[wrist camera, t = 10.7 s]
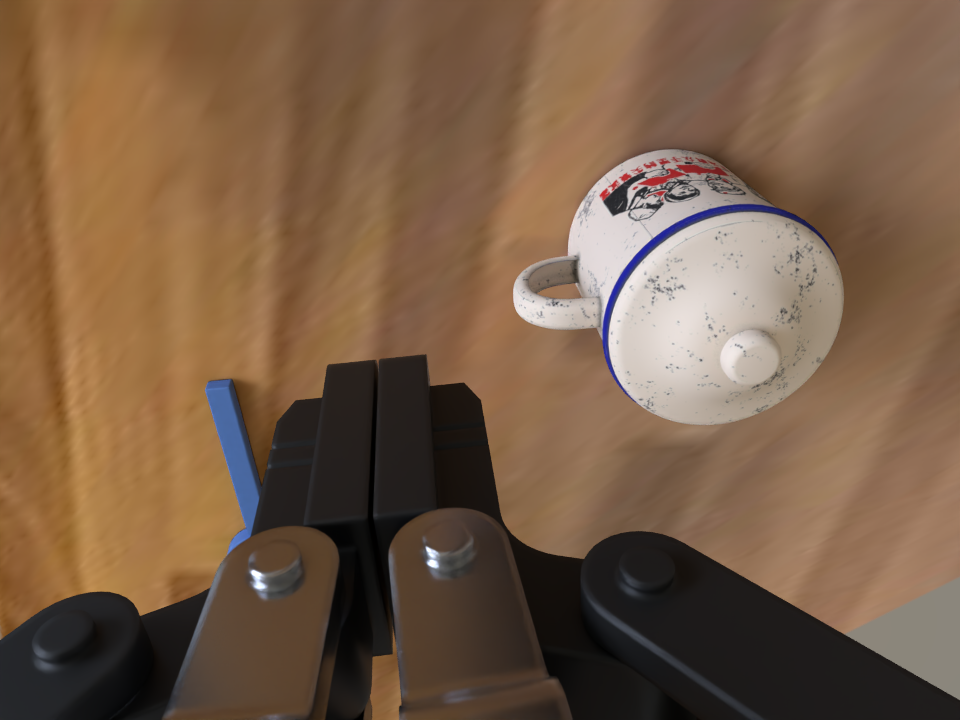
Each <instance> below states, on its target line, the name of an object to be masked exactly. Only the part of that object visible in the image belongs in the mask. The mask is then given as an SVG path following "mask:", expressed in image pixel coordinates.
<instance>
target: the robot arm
mask: <svg viewBox="0 0 960 720" xmlns="http://www.w3.org/2000/svg"><path fill="white" fill-rule="evenodd" d="M267 468H268V469H266V471H265V476H264V480H263V484H262V489H261V493H260V497H259V502H258V506H257V510H256V515H255V519H254V523H253V527H252V532H251V536H250V538H248V539H246V540H245V541H243V542H242V543H240V544H239V545H238V546H236V547H235V548H234V549H233V550H232V551H231V552H230V553H229V554H228V555H227V556H226V557H225V558H224V560H223V561H222V563H221V564H220V566H219V568H218V570H217V572H216V575H215V577H214V580H213V583H212V585H211V587H210V588H209V589H207V590H205V591H203V592H201V593H200V594H198V595H195V596H193V597H191V598H188V599H186V600H183V601H180V602H178V603H175V604H172V605H169V606H167V607H164V608H161V609H158V610H156V611H153V612H150V613H148V614H145V615H142V616H140V615H139V613H138V610H137V608H136V607H135V605H134V604H133V603H132V602H131V601H130V600H129V599H127V598H126V597H124V596H122V595H119V594H115V593H111V592H90V593H85V594H80V595H76V596H73V597H69V598H66V599H64V600H61V601H59V602H57V603H54V604H53V605H51V606H49V607H47V608H45V609H43V610H42V611H40V612H39V613H37V614H36V615H34V616H33V617H31V618H30V619H28V620H27V621H26V622H24V623H23V624H22V625H20V626H19V627H18V628H16V629H15V630H13V631H12V632H11V633H9V634H8V635H7V636H5V637H4V638H3V639H1V640H0V720H372V705H371V700H370V694H371V686H372V657H373V656H381V655H390V654H393V630H394V635H395V641H396V646H397V657H398V668H399V678H400V689H401V702H402V706H399V720H960V700H958V699H957V698H955V697H953V696H951V695H950V694H947V693H946V692H944V691H943V690H941V689H939V688H937V687H935V686H934V685H932V684H930V683H928V682H927V681H925V680H923V679H921V678H920V677H918V676H916V675H914V674H913V673H911V672H909V671H907V670H906V669H904V668H902V667H900V666H898V665H897V664H895V663H893V662H892V661H890V660H888V659H886V658H885V657H883V656H881V655H879V654H878V653H876V652H874V651H872V650H871V649H869V648H867V647H865V646H864V645H862V644H860V643H858V642H857V641H855V640H853V639H851V638H850V637H848V636H846V635H844V634H843V633H841V632H839V631H837V630H835V629H834V628H832V627H830V626H828V625H827V624H825V623H823V622H821V621H820V620H818V619H816V618H814V617H813V616H811V615H809V614H807V613H806V612H804V611H802V610H800V609H799V608H797V607H795V606H793V605H792V604H790V603H788V602H786V601H785V600H783V599H781V598H779V597H778V596H776V595H774V594H772V593H771V592H769V591H767V590H765V589H764V588H762V587H760V586H758V585H756V584H755V583H753V582H751V581H749V580H748V579H746V578H744V577H742V576H741V575H739V574H737V573H735V572H734V571H732V570H730V569H728V568H727V567H725V566H723V565H721V564H720V563H718V562H716V561H714V560H713V559H711V558H709V557H707V556H706V555H704V554H702V553H700V552H699V551H697V550H695V549H693V548H692V547H690V546H688V545H686V544H685V543H683V542H681V541H679V540H677V539H674V538H672V537H669V536H666V535H663V534H658V533H654V532H644V531H635V532H625V533H620V534H617V535H613V536H610V537H608V538H606V539H604V540H602V541H601V542H599V543H598V544H596V545H595V546H594V547H593V548H592V549H591V550H590V551H589V552H588V554H587V556H586V557H585V559H579V558H572V557H565V556H558V555H553V554H548V553H544V552H541V551H538V550H536V549H533V548H531V547H529V546H527V545H525V544H524V543H522V542H521V541H519V540H518V539H517V538H516V537H515V536H513V535H512V534H511V533H510V531H509V530H508V529H507V528H506V526H505V524H504V522H503V520H502V517H501V513H500V508H499V502H498V496H497V491H496V485H495V479H494V473H493V467H492V462H491V456H490V450H489V445H488V439H487V433H486V427H485V421H484V416H483V410H482V404H481V400H480V399H479V398H478V397H477V396H476V395H475V394H474V393H473V392H472V391H471V390H470V388H469V387H468V386H467V385H466V384H465V383H455V384H446V385H436V386H430V379H429V370H428V362H427V355H426V354H425V355H415V356H405V357H396V358H386V359H380V360H379V369H378V364H377V361H376V360H368V361H359V362H349V363H339V364H329V365H328V366H327V370H326V377H325V383H324V390H323V396H322V398H315V399H305V400H296V401H295V402H294V403H293V404H292V405H291V406H290V408H289V409H288V410H287V411H286V412H285V413H284V415H283V416H282V417H281V418H280V419H279V420H278V421H277V424H276V428H275V433H274V437H273V441H272V450H270V454H269V459H268V463H267Z"/></svg>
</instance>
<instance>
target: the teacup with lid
mask: <svg viewBox="0 0 960 720" xmlns="http://www.w3.org/2000/svg"><path fill="white" fill-rule="evenodd" d="M571 283H575V284H576V286H577V288H578V290H579V292H580V294H581V296H582V298H577V299H555V298H549V297H544V296H541V295H538V294H537V293H538V292H540V291H542V290H544V289H546V288H549V287H552V286H557V285H563V284H571ZM513 296H514V306H515V309H516V311H517V313H518V314H519V315H520V316H521V317H522V318H523V319H524V320H526V321H527V322H529V323H531V324H534V325H537V326H540V327H544V328H549V329H559V330H572V329H585V328H595V327H596V328H597V330H598V332H599V334H600V336H601V338H602V341H603V349H604V354H605V358H606V362H607V364H608V367H609V370H610V372H611V374H612V376H613V377H614V379H615V381H616V382H617V384H618V385H619V387H620V388H621V389H622V390H623V391H624V392H625V394H626V395H628V396H629V397H630V398H631V399H632V400H633V401H634V402H636V403H637V404H639V405H640V406H641V407H643V408H645V409H646V410H648V411H650V412H651V413H653V414H655V415H658V416H660V417H662V418H665V419H668V420H671V421H675V422H680V423H685V424H693V425H716V424H724V423H729V422H734V421H738V420H741V419H745V418H748V417H751V416H753V415H756V414H758V413H760V412H763V411H765V410H767V409H769V408H771V407H772V406H774V405H776V404H778V403H779V402H781V401H782V400H784V399H785V398H787V397H788V396H789V395H791V394H792V393H793V392H795V391H796V390H797V389H798V388H799V387H800V386H802V385H803V384H804V383H805V382H806V381H807V380H808V379H809V378H810V377H811V376H812V374H813V373H814V372H815V371H816V370H817V368H818V367H819V366H820V364H821V363H822V362H823V360H824V359H825V357H826V355H827V354H828V352H829V350H830V349H831V346H832V344H833V342H834V340H835V338H836V335H837V333H838V330H839V326H840V323H841V318H842V312H843V303H844V288H843V281H842V276H841V272H840V269H839V266H838V262H837V260H836V257H835V255H834V253H833V251H832V249H831V248H830V246H829V244H828V243H827V241H826V240H825V239H824V238H823V236H822V235H821V234H820V233H819V232H818V231H817V230H816V229H815V228H814V227H813V226H811V225H810V224H809V223H807V222H806V221H805V220H803V219H801V218H800V217H798V216H796V215H794V214H792V213H790V212H787V211H785V210H782V209H779V208H777V207H775V206H774V205H773V204H772V203H770V202H769V201H768V200H766V199H765V198H764V197H763V196H761V195H760V194H759V193H758V192H756V191H755V190H754V189H752V188H751V187H750V186H749V185H747V184H746V183H745V182H743V181H742V180H741V179H740V178H738V177H737V176H736V175H735V174H733V173H732V172H731V171H729V170H728V169H727V168H726V167H724V166H723V165H722V164H720V163H719V162H717V161H715V160H714V159H712V158H710V157H708V156H705V155H703V154H700V153H696V152H693V151H687V150H678V149H666V150H658V151H653V152H648V153H645V154H642V155H639V156H636V157H634V158H631V159H629V160H627V161H625V162H623V163H622V164H620V165H618V166H617V167H615V168H614V169H612V170H611V171H610V172H608V173H607V174H606V175H605V176H603V177H602V178H601V179H600V180H599V181H598V182H597V183H596V184H595V185H594V186H593V188H592V189H591V190H590V191H589V193H588V194H587V195H586V197H585V198H584V200H583V201H582V203H581V205H580V206H579V208H578V210H577V212H576V215H575V217H574V220H573V222H572V226H571V230H570V235H569V242H568V256H564V257H557V258H551V259H547V260H543V261H540V262H537V263H535V264H533V265H531V266H529V267H528V268H527V269H525V270H524V271H523V272H522V273H521V274H520V275H519V276H518V278H517V279H516V281H515V284H514V289H513Z"/></svg>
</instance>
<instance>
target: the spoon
mask: <svg viewBox="0 0 960 720" xmlns="http://www.w3.org/2000/svg"><path fill="white" fill-rule="evenodd" d="M205 391H206V395H207V398H208V401H209V405H210V408H211V411H212V415H213V418H214V422H215V425H216V428H217V432H218V435H219V438H220V442H221V445H222V448H223V452H224V455H225V459H226V462H227V465H228V469H229V472H230V475H231V479H232V482H233V486H234V489H235V492H236V496H237V499H238V502H239V506H240V509H241V512H242V516H243V519H244V523H245V526H246V529H244V530H242V531H241V532H239V533H238V534H237V535H236V536H235V537H234V538H233V540H232V541H231V543H230V546H229V550H228V554H229V553H230V552H231V551H232V550H233V549H234V548H235V547H236V546H238V545H239V544H240V543H242V542H243V541H245V540H246V539H248V538H250V536H251V532H252V527H253V523H254V519H255V515H256V510H257V506H258V502H259V497H260V493H261V489H262V487H261V484H260V480H259V476H258V473H257V469H256V465H255V462H254V458H253V454H252V451H251V447H250V443H249V440H248V436H247V432H246V429H245V425H244V421H243V418H242V414H241V410H240V407H239V403H238V399H237V396H236V392H235V388H234V385H233V381H232V380H231V379H228V380H219V381H210V382H208V384H207V386H206V389H205ZM228 554H227V555H228Z"/></svg>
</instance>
